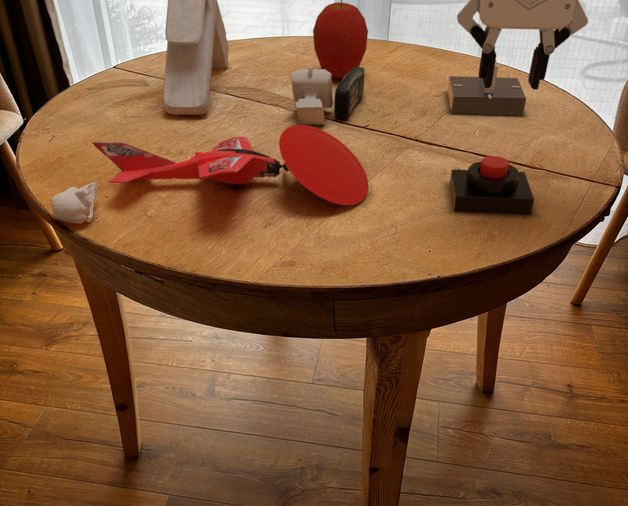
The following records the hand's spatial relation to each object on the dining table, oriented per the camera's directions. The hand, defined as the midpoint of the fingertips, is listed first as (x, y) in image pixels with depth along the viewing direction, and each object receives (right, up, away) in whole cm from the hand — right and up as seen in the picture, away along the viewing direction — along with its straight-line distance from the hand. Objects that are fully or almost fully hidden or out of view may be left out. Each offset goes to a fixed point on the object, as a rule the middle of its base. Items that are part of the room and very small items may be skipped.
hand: (509, 83), depth 81 cm
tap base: (+6, +11, +36) cm, 38 cm away
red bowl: (-22, -7, +9) cm, 25 cm away
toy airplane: (-40, -9, +12) cm, 43 cm away
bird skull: (-54, -14, +7) cm, 56 cm away
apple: (-19, +20, +47) cm, 55 cm away
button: (0, -9, +8) cm, 12 cm away
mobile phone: (-17, +11, +36) cm, 42 cm away
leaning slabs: (-45, +16, +43) cm, 64 cm away
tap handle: (+6, +13, +34) cm, 37 cm away
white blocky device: (-24, +13, +31) cm, 41 cm away
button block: (0, -12, +10) cm, 15 cm away
